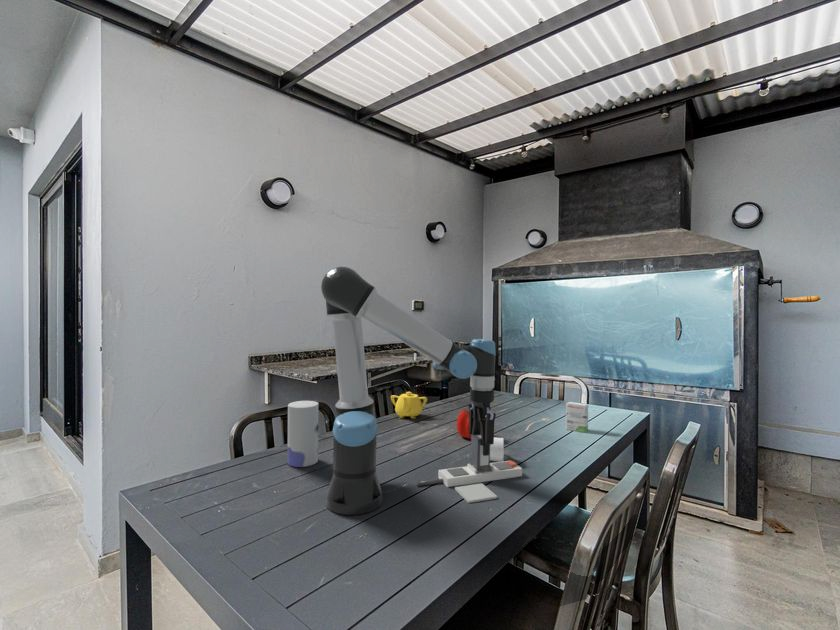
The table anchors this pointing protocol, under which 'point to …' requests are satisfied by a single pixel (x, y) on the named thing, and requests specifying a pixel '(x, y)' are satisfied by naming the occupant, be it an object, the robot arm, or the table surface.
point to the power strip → (476, 474)
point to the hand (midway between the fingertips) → (480, 461)
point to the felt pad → (475, 493)
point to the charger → (477, 451)
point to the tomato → (464, 424)
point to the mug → (497, 450)
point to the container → (302, 433)
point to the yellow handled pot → (408, 404)
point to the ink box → (577, 417)
